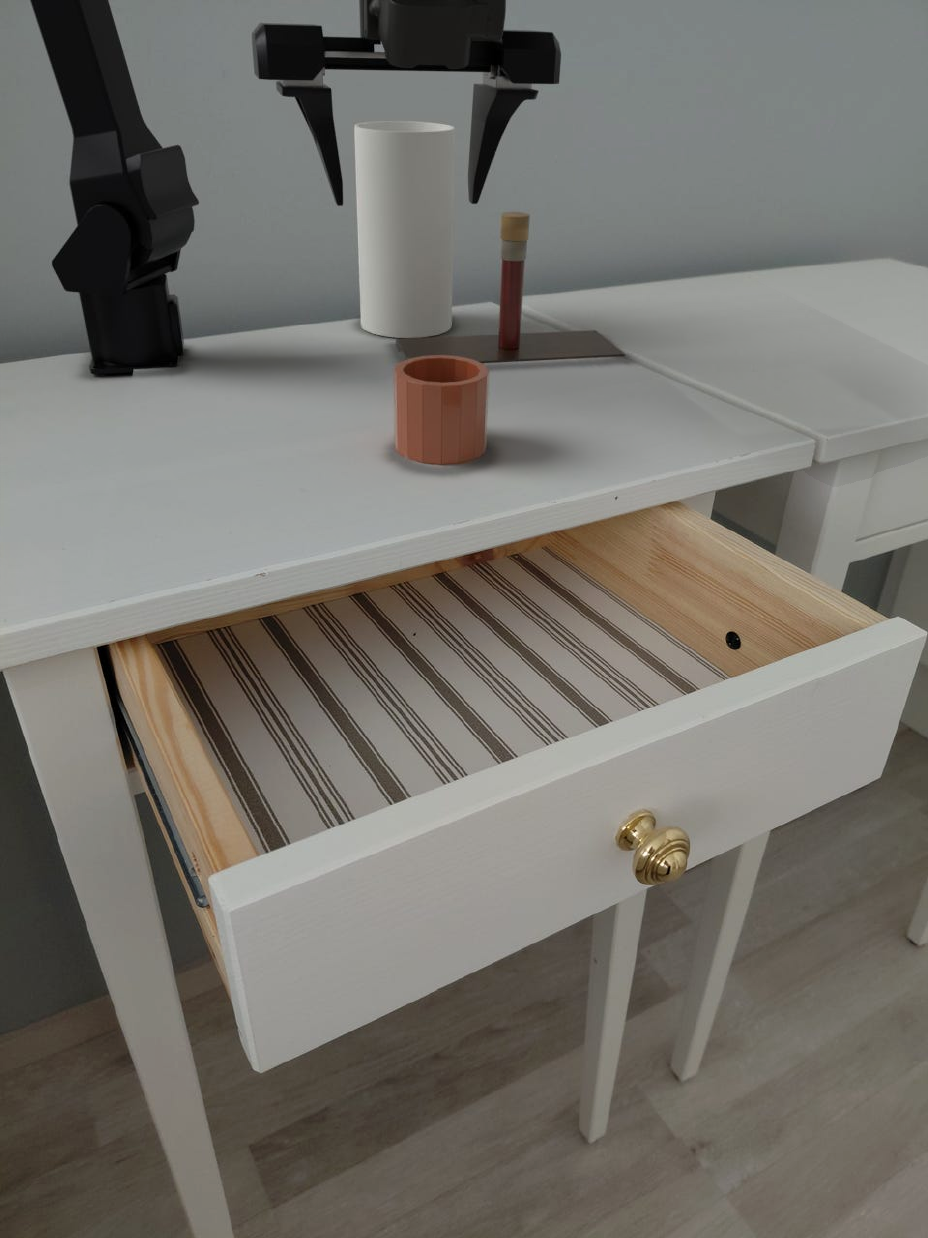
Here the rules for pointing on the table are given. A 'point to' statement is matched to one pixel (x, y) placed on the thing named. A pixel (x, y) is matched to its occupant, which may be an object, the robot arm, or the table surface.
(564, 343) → the mat
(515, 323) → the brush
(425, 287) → the cup
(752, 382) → the table surface
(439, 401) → the pot
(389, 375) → the table surface
